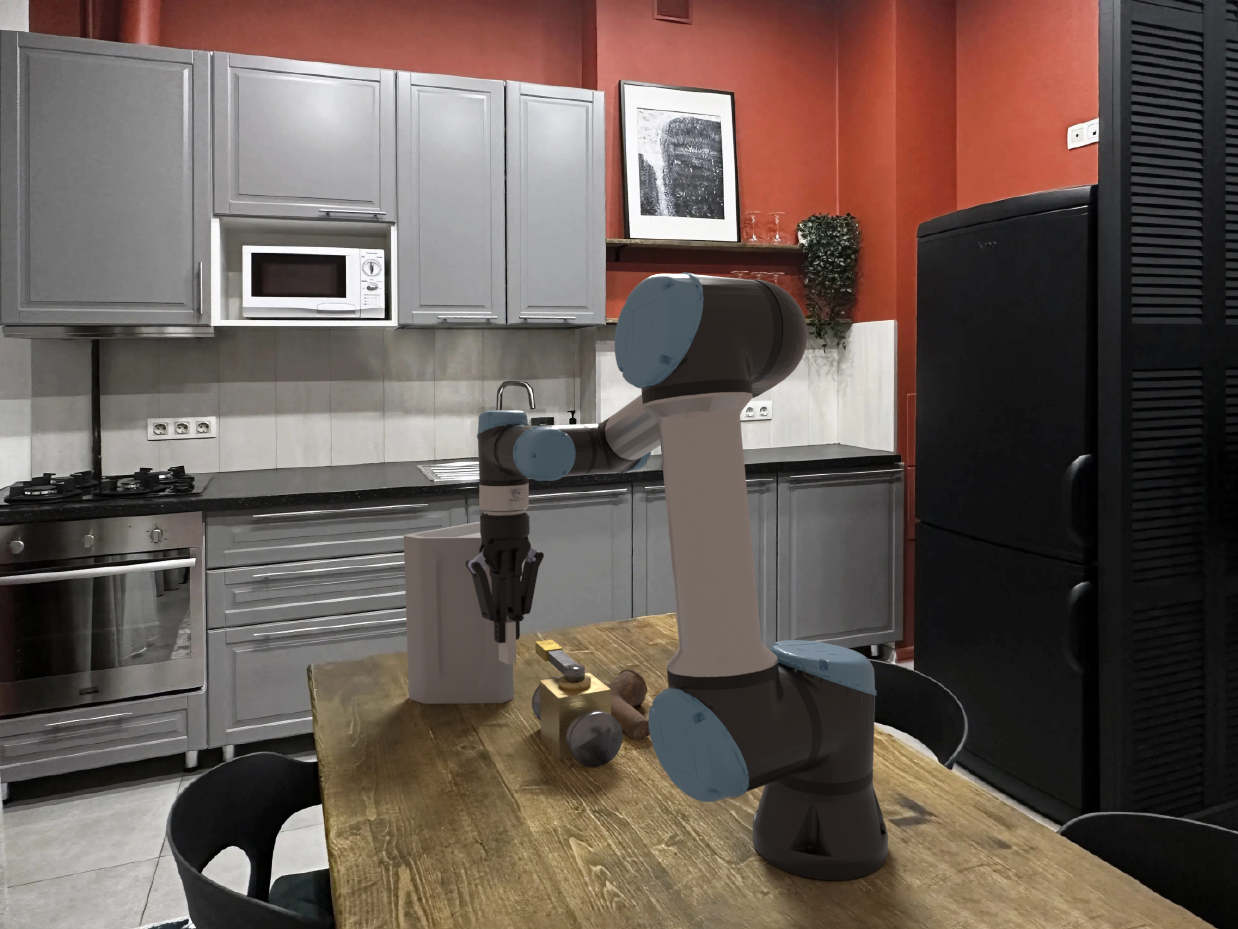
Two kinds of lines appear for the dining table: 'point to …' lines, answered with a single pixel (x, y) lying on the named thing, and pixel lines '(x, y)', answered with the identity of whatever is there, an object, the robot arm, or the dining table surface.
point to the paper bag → (450, 622)
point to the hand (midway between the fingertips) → (507, 661)
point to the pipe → (629, 703)
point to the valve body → (578, 719)
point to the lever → (560, 660)
